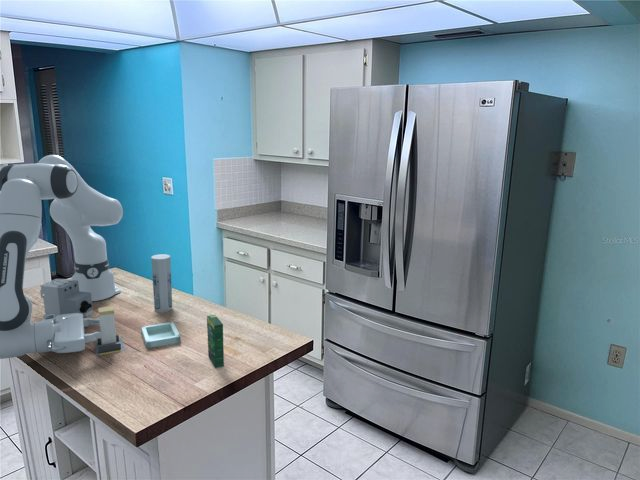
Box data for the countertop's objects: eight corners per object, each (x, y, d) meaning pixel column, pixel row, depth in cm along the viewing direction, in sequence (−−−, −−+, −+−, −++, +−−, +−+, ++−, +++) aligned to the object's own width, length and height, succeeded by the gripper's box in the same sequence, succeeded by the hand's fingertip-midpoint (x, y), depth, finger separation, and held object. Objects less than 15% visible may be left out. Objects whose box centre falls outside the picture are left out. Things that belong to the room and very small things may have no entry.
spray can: (152, 306, 174) (149, 255, 170) (171, 304, 177) (168, 253, 173) (155, 313, 169) (152, 259, 164) (174, 310, 172) (171, 258, 167)
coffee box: (207, 356, 140) (206, 315, 136) (216, 354, 141) (215, 313, 138) (214, 368, 133) (213, 325, 130) (224, 366, 134) (223, 324, 131)
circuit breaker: (83, 333, 151) (78, 289, 148) (44, 328, 154) (39, 285, 150) (98, 324, 158) (94, 282, 155) (61, 319, 161) (56, 278, 157)
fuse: (101, 344, 143) (98, 308, 140) (116, 342, 145) (113, 306, 142) (102, 349, 140) (98, 312, 137) (116, 347, 142) (114, 310, 139)
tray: (141, 334, 152) (141, 326, 152) (173, 328, 157) (173, 321, 156) (146, 350, 142) (146, 342, 141) (180, 344, 146) (180, 336, 146)
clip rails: (93, 343, 145) (93, 335, 144) (121, 338, 149) (121, 331, 148) (95, 357, 137) (94, 349, 136) (125, 352, 140) (124, 344, 140)
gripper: (45, 340, 124) (102, 331, 131) (48, 312, 142) (98, 305, 148) (47, 362, 126) (104, 352, 132) (50, 331, 143) (100, 324, 150)
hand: (101, 327), depth 140 cm, fingers open, 8 cm apart
